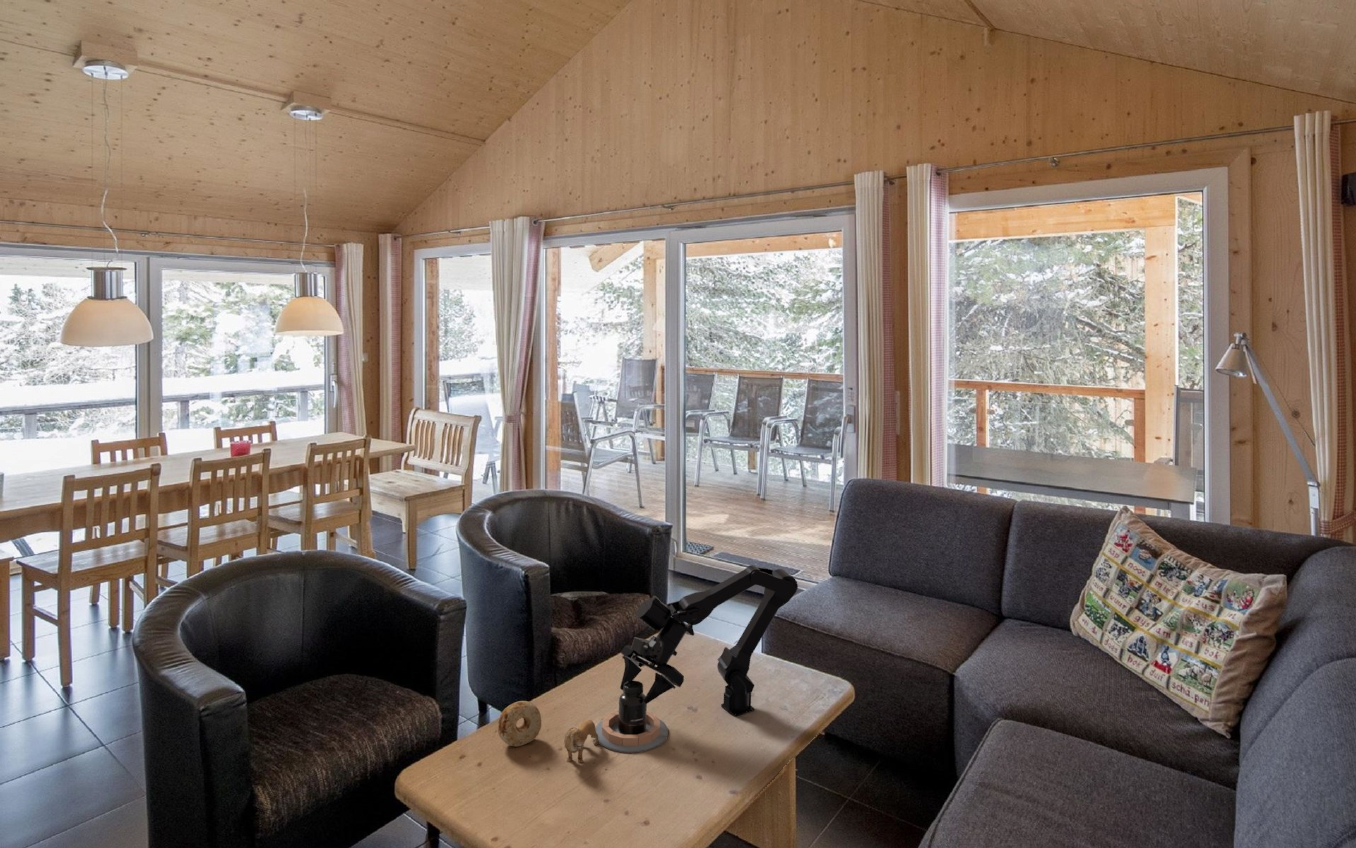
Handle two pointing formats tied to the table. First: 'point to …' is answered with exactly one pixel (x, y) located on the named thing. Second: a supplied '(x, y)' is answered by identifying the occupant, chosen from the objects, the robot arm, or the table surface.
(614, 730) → the ring tray
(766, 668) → the table surface
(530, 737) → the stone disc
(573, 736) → the lion figurine
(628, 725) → the supplement bottle
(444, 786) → the table surface
